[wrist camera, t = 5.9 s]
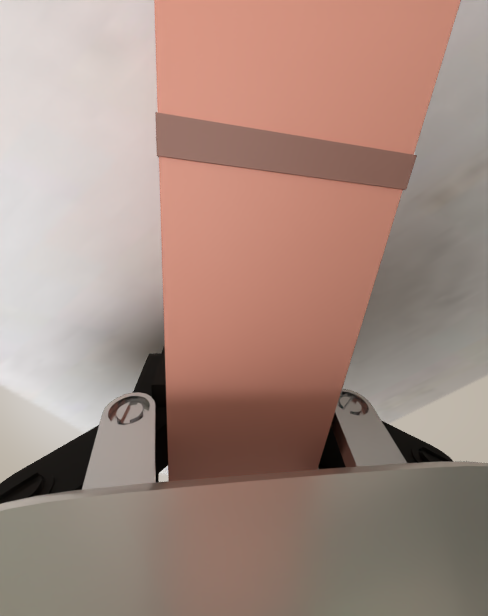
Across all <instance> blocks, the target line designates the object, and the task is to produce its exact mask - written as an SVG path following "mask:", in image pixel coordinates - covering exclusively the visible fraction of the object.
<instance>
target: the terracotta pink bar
mask: <svg viewBox="0 0 488 616" xmlns="http://www.w3.org/2000/svg"><path fill="white" fill-rule="evenodd" d="M154 1H155V34H156V68H157V102H158V113H157V112H156V141H157V156H158V157H159V169H160V203H161V237H162V271H163V305H164V338H165V372H166V406H167V440H168V473H169V481H180V480H192V479H204V478H215V477H227V476H240V475H253V474H265V473H278V472H291V471H304V470H317V469H318V466H319V462H320V459H321V456H322V452H323V449H324V446H325V443H326V439H327V436H328V433H329V430H330V426H331V423H332V420H333V417H334V413H335V410H336V407H337V403H338V400H339V397H340V394H341V390H342V387H343V384H344V381H345V377H346V374H347V371H348V367H349V364H350V361H351V358H352V354H353V351H354V348H355V345H356V341H357V338H358V335H359V331H360V328H361V325H362V322H363V318H364V315H365V312H366V309H367V305H368V302H369V299H370V295H371V292H372V289H373V286H374V282H375V279H376V276H377V273H378V269H379V266H380V263H381V259H382V256H383V253H384V250H385V246H386V243H387V240H388V237H389V233H390V230H391V227H392V224H393V220H394V217H395V214H396V210H397V207H398V204H399V201H400V197H401V194H402V191H403V190H406V188H407V185H408V182H409V179H410V175H411V172H412V169H413V166H414V162H415V159H416V156H417V155H414V152H415V148H416V145H417V142H418V138H419V135H420V132H421V129H422V125H423V122H424V119H425V116H426V112H427V109H428V106H429V102H430V99H431V96H432V93H433V89H434V86H435V83H436V80H437V76H438V73H439V70H440V66H441V63H442V60H443V57H444V53H445V50H446V47H447V44H448V40H449V37H450V34H451V31H452V27H453V24H454V21H455V17H456V14H457V11H458V8H459V4H460V1H461V0H154Z"/></svg>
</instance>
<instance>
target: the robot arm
mask: <svg viewBox="0 0 488 616" xmlns="http://www.w3.org/2000/svg"><path fill="white" fill-rule="evenodd" d="M167 465H168V440H167V406H166V372H165V345H164V348H163V351H162V354H149V356H148V358H147V360H146V363H145V365H144V367H143V370H142V372H141V375H140V377H139V379H138V382H137V384H136V386H135V389H134V391H133V393H129V394H124V395H122V396H120V397H117V398H116V399H114V400H113V401H111V402H110V403H109V404H108V405H107V406H106V407H105V409H104V411H103V413H102V416H101V420H100V424H99V425H98V426H97V427H95V428H93V429H91V430H90V431H88V432H86V433H84V434H83V435H81V436H79V437H77V438H76V439H74V440H72V441H70V442H69V443H67V444H66V445H63V446H62V447H60V448H58V449H57V450H55V451H53V452H51V453H50V454H48V455H46V456H44V457H43V458H41V459H39V460H37V461H36V462H34V463H32V464H30V465H29V466H27V467H25V468H24V469H22V470H20V471H18V472H17V473H15V474H13V475H12V476H10V477H9V478H7V479H6V480H5V481H3V482H2V483H1V484H0V616H488V463H478V462H453V461H452V459H450V457H448V456H447V455H446V454H444V453H443V452H442V451H440V450H439V449H437V448H435V447H433V446H432V445H430V444H427V443H426V442H423V441H421V440H419V439H417V438H415V437H413V436H411V435H409V434H407V433H405V432H403V431H401V430H399V429H397V428H395V427H393V426H391V425H389V424H387V423H385V422H383V421H381V419H380V418H379V416H378V414H377V413H376V411H375V410H374V408H373V406H372V405H371V403H370V402H369V401H368V400H367V399H366V398H365V397H363V396H362V395H360V394H358V393H357V392H354V391H351V390H348V389H342V390H341V394H340V397H339V400H338V403H337V407H336V410H335V413H334V417H333V420H332V423H331V426H330V430H329V433H328V436H327V439H326V443H325V446H324V449H323V452H322V456H321V459H320V462H319V466H318V469H317V470H304V471H291V472H278V473H265V474H253V475H240V476H227V477H215V478H204V479H192V480H180V481H168V482H159V472H161V471H162V470H163V469H164V468H165V467H166V466H167Z"/></svg>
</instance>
